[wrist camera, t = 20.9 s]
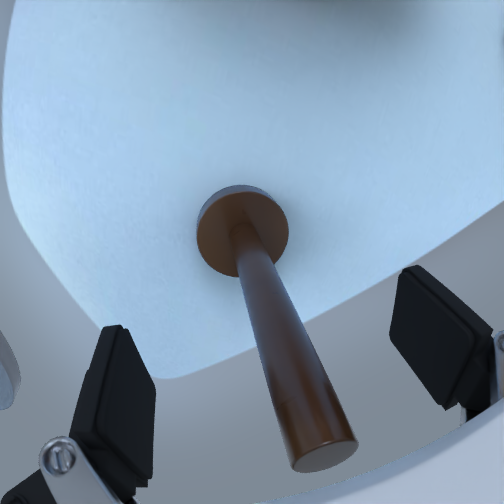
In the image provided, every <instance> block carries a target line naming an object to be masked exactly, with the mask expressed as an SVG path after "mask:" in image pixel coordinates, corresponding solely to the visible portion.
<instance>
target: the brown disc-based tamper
mask: <svg viewBox="0 0 504 504" xmlns="http://www.w3.org/2000/svg"><path fill="white" fill-rule="evenodd" d="M288 234H289V229H288V222H287V219H286V216H285V214H284V212H283V211H282V209H281V208H280V206H279V205H278V204H277V203H276V202H275V201H274V200H273V198H272V197H271V196H270V195H268V194H267V193H266V192H264V191H262V190H261V189H258V188H256V187H252V186H247V185H236V186H231V187H227V188H224V189H222V190H220V191H218V192H217V193H215V194H214V195H212V196H211V197H210V198H209V199H208V200H207V202H206V203H205V204H204V206H203V207H202V209H201V211H200V213H199V216H198V220H197V244H198V248H199V251H200V253H201V255H202V257H203V258H204V260H205V261H206V262H207V264H208V265H209V266H211V267H212V268H213V269H215V270H216V271H218V272H220V273H222V274H224V275H227V276H232V277H239V279H240V283H241V287H242V291H243V295H244V298H245V302H246V306H247V310H248V314H249V318H250V321H251V325H252V329H253V333H254V337H255V340H256V344H257V348H258V351H259V355H260V359H261V363H262V366H263V370H264V373H265V377H266V381H267V385H268V388H269V392H270V395H271V399H272V403H273V406H274V410H275V414H276V417H277V421H278V424H279V427H280V431H281V435H282V438H283V442H284V445H285V449H286V452H287V456H288V459H289V462H290V466H291V468H292V469H293V470H294V471H296V472H300V473H310V472H317V471H321V470H325V469H328V468H330V467H333V466H335V465H337V464H339V463H341V462H343V461H345V460H346V459H347V458H349V457H350V456H352V455H353V454H354V452H356V450H357V449H358V445H359V444H358V443H359V442H358V440H357V438H356V436H355V433H354V431H353V429H352V427H351V425H350V423H349V421H348V418H347V416H346V414H345V412H344V410H343V408H342V405H341V403H340V401H339V399H338V397H337V395H336V393H335V391H334V389H333V386H332V384H331V382H330V380H329V378H328V376H327V374H326V372H325V370H324V367H323V365H322V363H321V361H320V359H319V357H318V355H317V353H316V351H315V349H314V347H313V345H312V342H311V340H310V338H309V336H308V334H307V332H306V330H305V328H304V326H303V324H302V322H301V320H300V318H299V316H298V313H297V311H296V309H295V307H294V305H293V303H292V301H291V299H290V297H289V295H288V293H287V291H286V289H285V287H284V285H283V283H282V281H281V279H280V277H279V275H278V273H277V271H276V269H275V267H274V264H275V263H276V262H277V260H278V259H279V258H280V257H281V255H282V254H283V252H284V250H285V247H286V245H287V241H288Z"/></svg>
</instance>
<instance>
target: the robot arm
mask: <svg viewBox="0 0 504 504" xmlns="http://www.w3.org/2000/svg"><path fill="white" fill-rule="evenodd" d="M492 331H493V329H492V328H491V327H490V326H489V325H488V324H487V323H486V322H485V321H484V320H483V319H482V318H480V317H479V316H478V315H477V314H476V313H475V312H474V311H473V310H472V309H471V308H470V307H468V306H467V305H466V304H465V303H464V302H463V301H462V300H460V299H459V298H458V297H457V296H456V295H455V294H454V293H452V292H451V291H450V290H449V289H448V288H447V287H445V286H444V285H443V284H442V283H441V282H439V281H438V280H437V279H436V278H435V277H433V276H432V275H431V274H430V273H428V272H427V271H426V270H425V269H424V268H422V267H421V266H419V265H415V266H411V267H407V268H404V269H403V270H402V273H401V274H400V275H399V277H398V284H397V291H396V298H395V304H394V310H393V315H392V321H391V326H390V331H389V336H390V340H391V342H392V343H393V344H394V346H395V347H396V348H397V350H398V351H399V352H400V354H401V355H402V356H403V358H404V359H405V360H406V362H407V363H408V364H409V366H410V367H411V369H412V370H413V371H414V373H415V374H416V375H417V377H418V378H419V379H420V381H421V382H422V384H423V385H424V386H425V388H426V389H427V391H428V392H429V393H430V395H431V396H432V398H433V399H434V400H435V402H436V403H437V404H438V405H442V407H443V408H444V409H445V411H446V410H448V409H450V408H451V407H453V406H455V405H457V403H458V402H459V403H460V405H461V418H460V427H458V428H457V429H455V430H453V431H452V432H450V433H448V434H446V435H445V436H443V437H441V438H439V439H438V440H436V441H434V442H432V443H430V444H428V445H426V446H424V447H422V448H420V449H419V450H416V451H414V452H412V453H410V454H408V455H406V456H404V457H402V458H400V459H398V460H395V461H393V462H391V463H389V464H386V465H384V466H382V467H379V468H377V469H374V470H372V471H369V472H366V473H364V474H361V475H359V476H356V477H353V478H350V479H347V480H344V481H341V482H339V483H335V484H332V485H329V486H326V487H322V488H319V489H315V490H312V491H308V492H304V493H300V494H297V495H292V496H288V497H284V498H280V499H274V500H269V501H264V502H259V503H253V504H504V330H503V331H500V332H498V333H497V334H496V335H495V337H494V339H493V338H492V337H491V334H492ZM155 401H156V389H155V385H154V383H153V381H152V379H151V377H150V375H149V373H148V371H147V369H146V367H145V365H144V363H143V361H142V358H141V356H140V354H139V352H138V350H137V348H136V346H135V343H134V341H133V339H132V337H131V334H130V332H129V330H128V329H126V328H125V329H123V327H122V326H121V325H113V326H106V327H103V329H102V331H101V334H100V337H99V340H98V343H97V346H96V349H95V352H94V355H93V358H92V361H91V364H90V367H89V370H87V372H86V374H85V378H84V381H83V384H82V388H81V391H80V395H79V398H78V402H77V405H76V409H75V413H74V417H73V421H72V425H71V429H70V433H69V437H65V436H60V437H56V438H53V439H50V440H49V441H48V442H47V443H45V445H44V446H43V447H42V449H41V451H40V454H39V466H40V469H39V470H37V471H36V472H35V473H33V474H32V475H30V476H29V477H28V478H27V479H25V480H24V481H22V482H21V483H19V484H18V485H17V486H15V487H14V488H12V489H11V490H10V491H8V492H7V493H6V494H5V495H4V496H3V498H2V500H1V504H141V503H140V502H139V501H138V500H137V499H136V498H135V496H134V495H135V494H136V487H148V479H151V478H152V475H153V436H154V417H155V415H154V414H155Z"/></svg>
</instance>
